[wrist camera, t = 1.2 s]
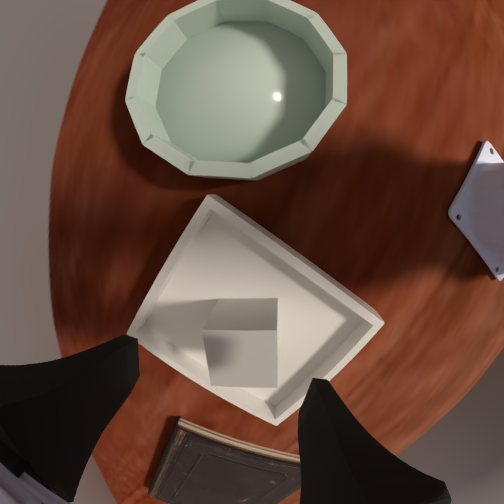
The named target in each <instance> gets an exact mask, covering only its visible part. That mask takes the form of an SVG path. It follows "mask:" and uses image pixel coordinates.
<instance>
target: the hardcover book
mask: <svg viewBox="0 0 504 504" xmlns="http://www.w3.org/2000/svg"><path fill="white" fill-rule="evenodd" d="M300 487H301V467H300V455H296V454H291V453H287V452H282V451H278V450H274V449H270V448H266V447H262V446H259V445H255V444H252V443H248V442H245V441H242V440H239V439H236V438H232V437H229V436H226V435H224V434H221V433H218V432H215V431H212V430H210V429H207V428H204V427H202V426H199V425H197V424H194V423H192V422H189V421H187V420H185V419H182V418H181V416H179V418H178V420H177V422H176V424H175V427H174V429H173V431H172V434H171V436H170V439H169V441H168V443H167V446H166V448H165V451H164V453H163V456H162V458H161V461H160V463H159V465H158V468H157V470H156V473H155V475H154V478H153V480H152V483H151V485H150V487H149V490H148V494H149V495H150V496H152V497H154V498H157V499H159V500H162V501H164V502H167V503H170V504H277V503H279V502H280V501H282V500H283V499H285V498H286V497H287V496H289V495H290V494H292V493H293V492H294V491H296V490H297V489H299V488H300Z"/></svg>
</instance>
